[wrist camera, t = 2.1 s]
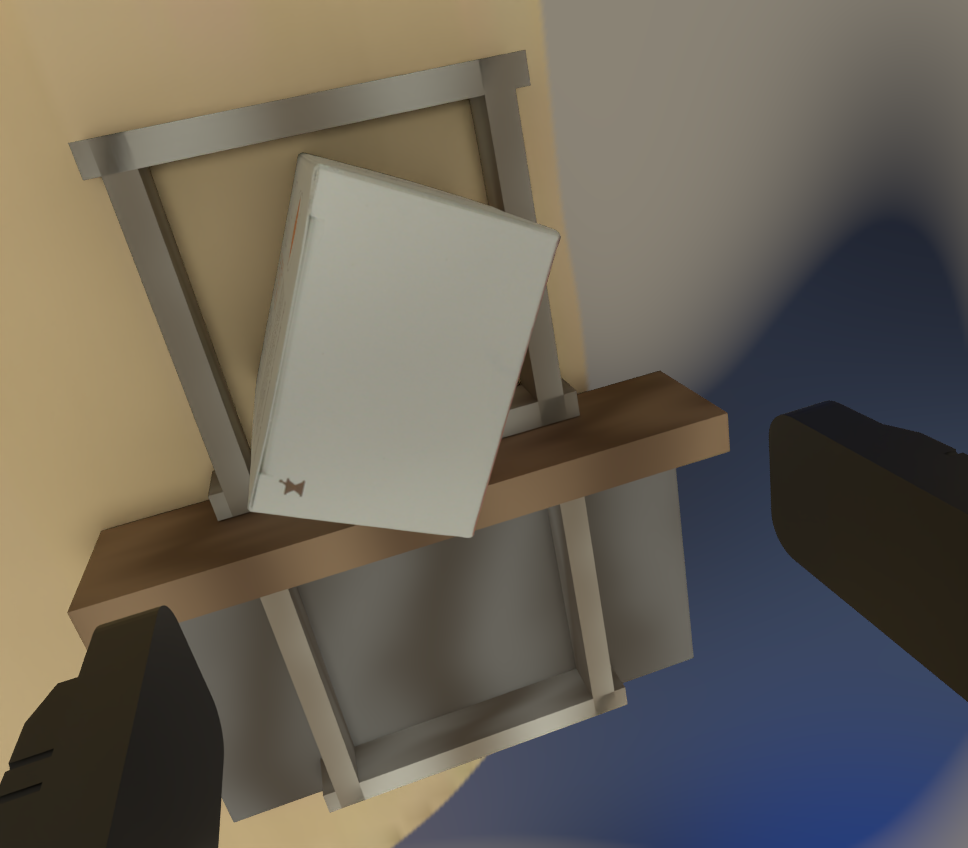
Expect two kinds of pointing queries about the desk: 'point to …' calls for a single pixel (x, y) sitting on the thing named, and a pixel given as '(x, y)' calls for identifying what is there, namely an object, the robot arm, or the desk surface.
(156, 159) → the door edge frame
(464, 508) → the small box
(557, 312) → the desk surface
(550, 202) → the desk surface
